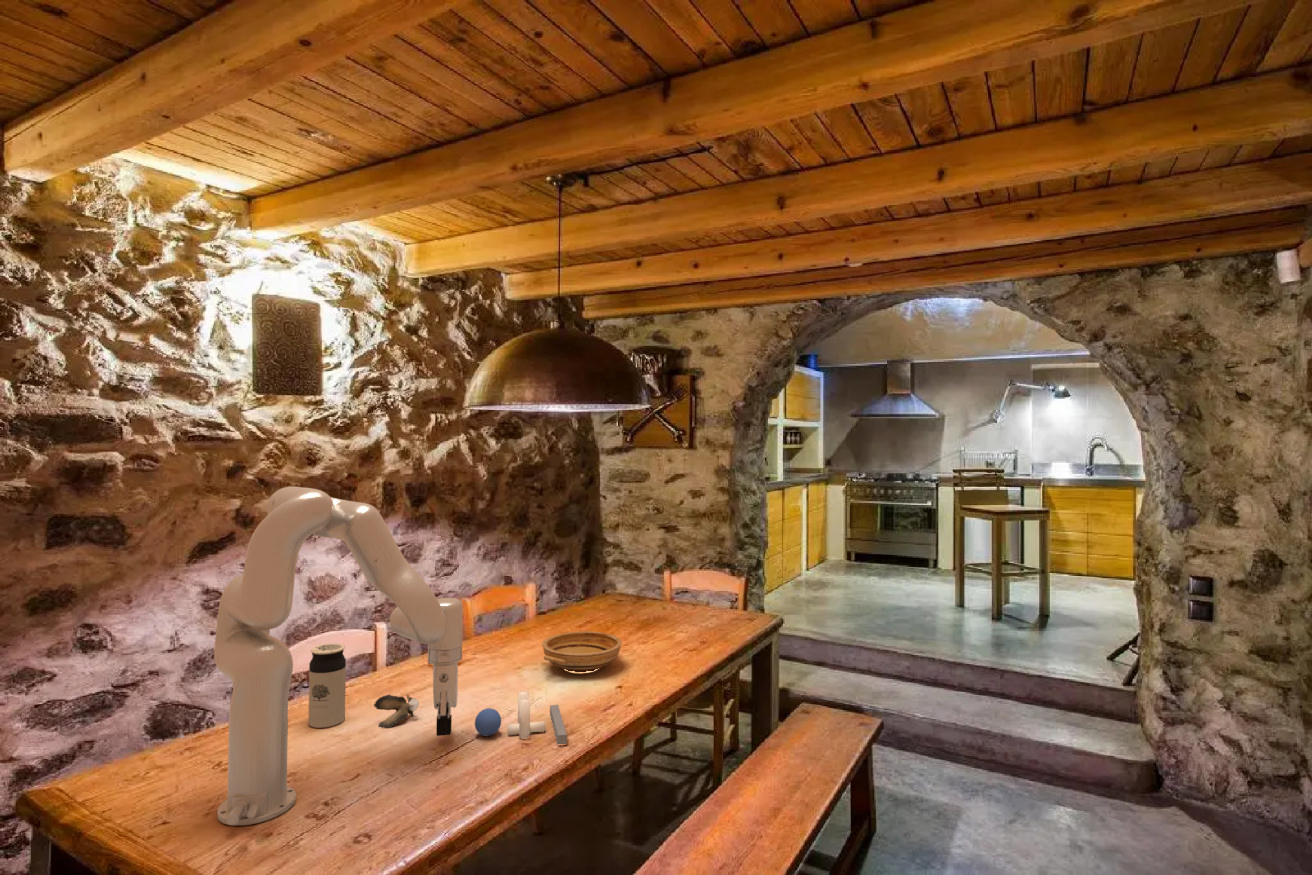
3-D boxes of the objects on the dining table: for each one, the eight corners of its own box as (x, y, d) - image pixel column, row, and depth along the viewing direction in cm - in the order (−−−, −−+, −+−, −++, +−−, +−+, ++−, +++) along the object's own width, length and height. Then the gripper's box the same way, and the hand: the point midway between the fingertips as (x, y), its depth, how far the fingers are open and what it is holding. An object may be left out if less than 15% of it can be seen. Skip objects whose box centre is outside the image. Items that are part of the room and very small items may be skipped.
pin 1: (528, 730, 162) (529, 694, 162) (518, 731, 161) (518, 695, 161) (527, 726, 164) (528, 690, 164) (517, 726, 163) (518, 691, 163)
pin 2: (530, 739, 157) (530, 702, 157) (519, 740, 156) (519, 702, 156) (529, 734, 159) (529, 698, 159) (518, 735, 158) (519, 699, 158)
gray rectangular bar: (566, 745, 154) (566, 734, 154) (557, 746, 153) (557, 735, 153) (557, 714, 171) (558, 704, 171) (549, 715, 170) (550, 705, 170)
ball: (487, 706, 156) (469, 729, 154) (507, 722, 157) (490, 744, 155) (485, 700, 162) (468, 722, 160) (505, 715, 163) (488, 736, 161)
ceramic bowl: (583, 649, 226) (584, 625, 226) (642, 663, 212) (642, 637, 212) (517, 673, 201) (518, 646, 201) (579, 691, 188) (579, 661, 188)
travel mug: (325, 713, 170) (326, 641, 170) (352, 717, 168) (353, 644, 168) (300, 726, 162) (301, 651, 162) (328, 730, 160) (330, 654, 160)
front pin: (508, 737, 158) (545, 733, 160) (508, 727, 158) (545, 723, 160) (507, 732, 160) (544, 728, 162) (508, 722, 160) (544, 719, 162)
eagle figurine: (400, 705, 173) (368, 710, 166) (414, 684, 171) (382, 688, 164) (412, 729, 168) (380, 735, 161) (426, 708, 167) (394, 712, 160)
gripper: (461, 662, 149) (460, 746, 149) (462, 643, 164) (461, 719, 164) (425, 665, 147) (424, 750, 147) (430, 645, 162) (429, 722, 162)
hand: (443, 733), depth 155 cm, fingers closed
